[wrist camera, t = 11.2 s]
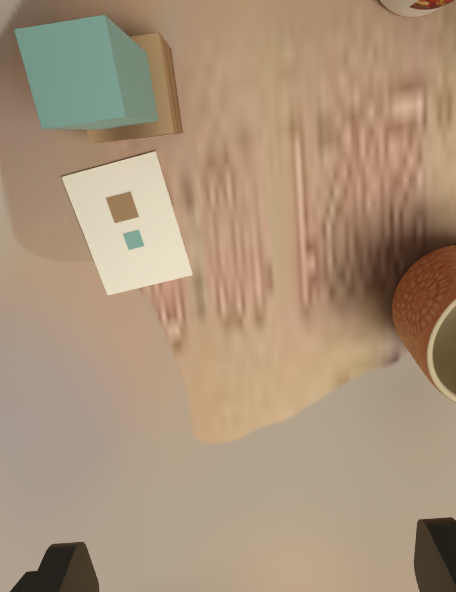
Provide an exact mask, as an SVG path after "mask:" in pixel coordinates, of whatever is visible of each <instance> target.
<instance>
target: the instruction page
mask: <svg viewBox="0 0 456 592" xmlns="http://www.w3.org/2000/svg"><path fill="white" fill-rule="evenodd" d="M62 180H63V182H64V185H65V187H66V190H67V193H68V195H69V198H70V200H71V203H72V205H73V208H74V210H75V213H76V216H77V218H78V221H79V223H80V226H81V228H82V231H83V234H84V236H85V239H86V241H87V244H88V246H89V249H90V252H91V254H92V257H93V259H94V262H95V264H96V267H97V269H98V272H99V275H100V277H101V280H102V282H103V285H104V287H105V290H106V293H107V295H112V294H116V293H120V292H123V291H128V290H132V289H136V288H141V287H145V286H149V285H153V284H157V283H161V282H166V281H170V280H174V279H178V278H182V277H186V276H191V275H193V273H192V270H191V267H190V263H189V260H188V257H187V253H186V250H185V247H184V243H183V240H182V237H181V233H180V230H179V227H178V224H177V220H176V217H175V214H174V210H173V207H172V204H171V200H170V197H169V194H168V190H167V187H166V184H165V180H164V177H163V174H162V171H161V167H160V164H159V161H158V157H157V154H156V151H154V152H151V153H147V154H143V155H140V156H136V157H132V158H129V159H125V160H121V161H118V162H114V163H110V164H107V165H103V166H99V167H96V168H92V169H89V170H85V171H81V172H78V173H74V174H70V175H67V176H63V177H62Z"/></svg>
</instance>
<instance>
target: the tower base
mask: <svg viewBox="0 0 456 592" xmlns="http://www.w3.org/2000/svg"><path fill="white" fill-rule="evenodd" d="M130 38H131V39H132V40H133V41H135V42H136V43H137V44H138V45H139V46H140V47H141V48H142V49H143V50H145V51H146V53H147V59H148V64H149V70H150V76H151V81H152V87H153V92H154V98H155V104H156V109H157V115H158V120H159V121H156V122H149V123H142V124H135V125H128V126H121V127H114V128H108V129H101V130H87V129H86V131H87V136H88V140H89V143H98V142H111V141H119V140H127V139H136V138H144V137H152V136H161V135H169V134H178V133H183V131H182V124H181V117H180V110H179V103H178V96H177V88H176V81H175V74H174V67H173V60H172V53H171V48H170V47H169V45H168V44H167V43H166V41H165V40H164V39H163V37H162V36H161V35H160V33H152V34H145V35H137V36H130Z"/></svg>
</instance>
